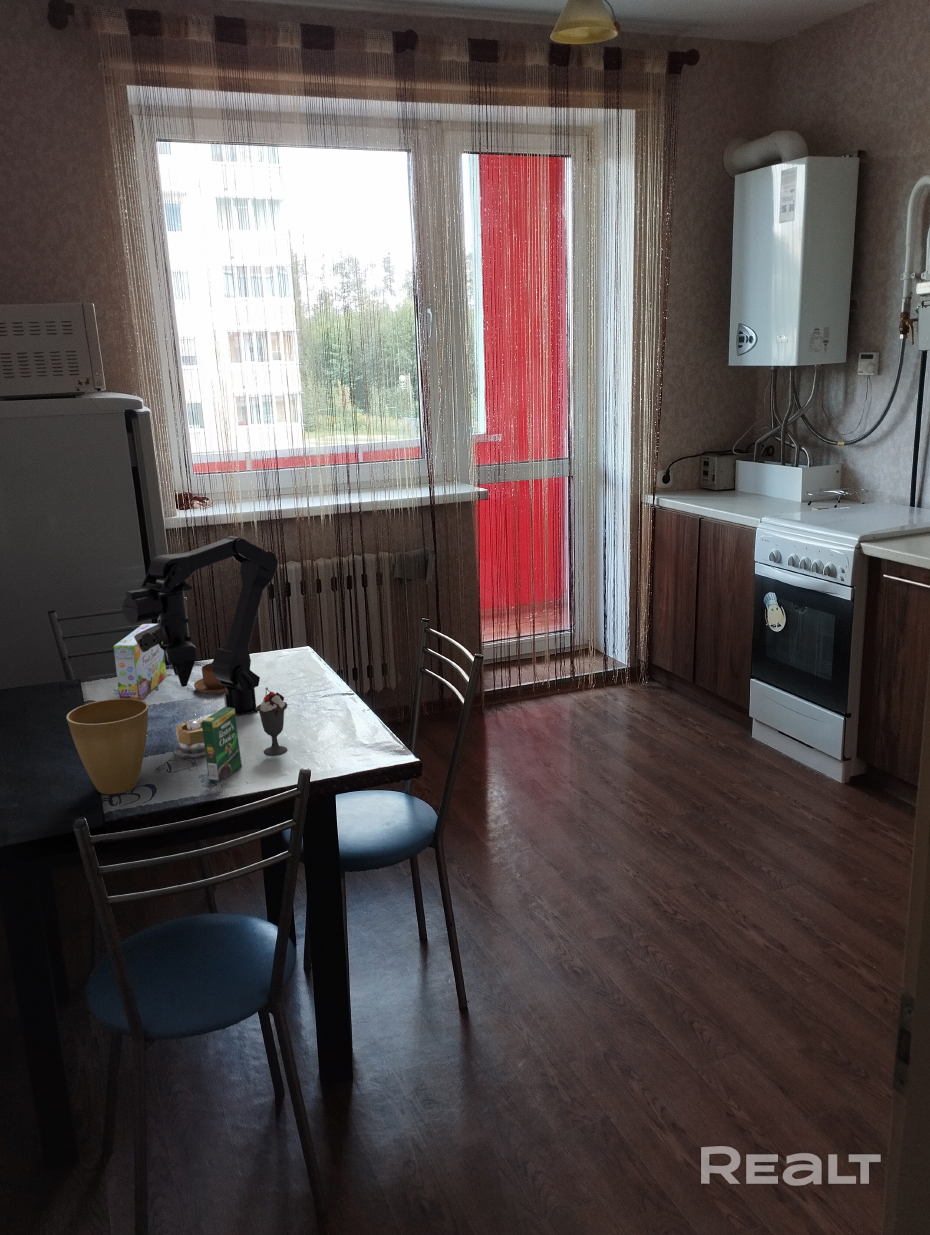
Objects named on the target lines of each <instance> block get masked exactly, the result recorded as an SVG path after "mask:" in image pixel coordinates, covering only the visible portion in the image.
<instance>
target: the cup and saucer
mask: <svg viewBox="0 0 930 1235" xmlns="http://www.w3.org/2000/svg"><path fill="white" fill-rule="evenodd" d="M211 663H212V662H211ZM211 663H207V664H204V665H202V666H201V672H202V673H201V674H202V678H201V679H198V680H197V681H195V682H194V684H193V686H194V689H195V690H196V691H198V692H201V693H202V694H203V693H205V694H221V693H224V692H226V688H225V686H224V685H221V684H220V682H219V680H218V679H217V678H216V677H215V675H214V673H213V665H211Z"/></svg>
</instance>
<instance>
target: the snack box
mask: <svg viewBox="0 0 930 1235" xmlns="http://www.w3.org/2000/svg"><path fill="white" fill-rule="evenodd" d="M157 624H158V623H142V624H141V625H139V626H138V627H137V628H136V629H134V630H133V631H132V632H130V633H129V634H128V635H127V636H125V637H124V638H122V639H121V640H120V641H118V642H117V643H116V644H114V645H113V653H114V661H115V671H116V678H117V688H118V697H119V698H118V699H137V700H141V701H143V699H144V698H146V697H147V696H148V695H149V694H150V693H151V692H153V690H155V688H156V687H157V686H159V685H160V683H161V682H163V681H164V680H165V679H166V678H167V676H168V674H167V668H166V656H165V651H164V650H163V649H161V648H160V646H159V644H158V645H156V646H154V647H152V648H150V649H149V650H148V651H146V652H142V651H141V649H140V647H139V645H138V644H137V642H136V640H135V638H134V636H135V635H136V634H138V633H140V632H142V631H144V630H146V629H148V628H150V627H153V626H155V625H157Z"/></svg>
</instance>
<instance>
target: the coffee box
mask: <svg viewBox="0 0 930 1235" xmlns="http://www.w3.org/2000/svg"><path fill="white" fill-rule="evenodd" d="M236 716H237V715H235V708H229V707H225V706H223V707H222V708H220V709H219V710H217V711H216V712H214V713H212V714H211V715H210V716H208V717H206V718H204V719H203V720H202V730H203V738H204V746H205V753H206V756H205V760H206V768H207V769H206V770H207V777H208V782H214V783H221V782H222V781H224V780H226V779H227V778H228V777H230V776H231V775H232V774H234V773H235V772H237V771H238V770H240V769H241V768H242V767H243V766H242V758H241V748H240V743H239V742H240V741H239V734H238V724H237V717H236Z"/></svg>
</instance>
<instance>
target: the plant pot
mask: <svg viewBox="0 0 930 1235" xmlns="http://www.w3.org/2000/svg"><path fill="white" fill-rule="evenodd" d="M66 720H67V724H68V727H69V732H70V734H71V737H72V740H73V743H74V745H75V748H76V751H77V753H78V755H79V758H80V761H81V762H82V764H83V767H84V769H85V771H86V773H87V775H88V776H89V779H90V780H91V781H92V784H93V785H94V786H95V788H96V790H97V791H98V792H99V793H100V794H102V795H103V794H104V795H116V794H123V793H127V792H129V791H131V790H132V789H134V788H136V786H137V785H138V782H139V781H138V780H139V778H140V774H141V770H142V765H143V762H144V761H143V760H144V756H145V751H146V743H147V734H148V724H149V723H148V721H149V705H148V703H147V702H146V701H143V700H137V699H120V698H111V699H104V700H98V701H97V700H96V701H93V702H90V703H87V704H84V705H81V706H77V707H76V708H74V709H72V710H70V712H68V713H67V715H66Z"/></svg>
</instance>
